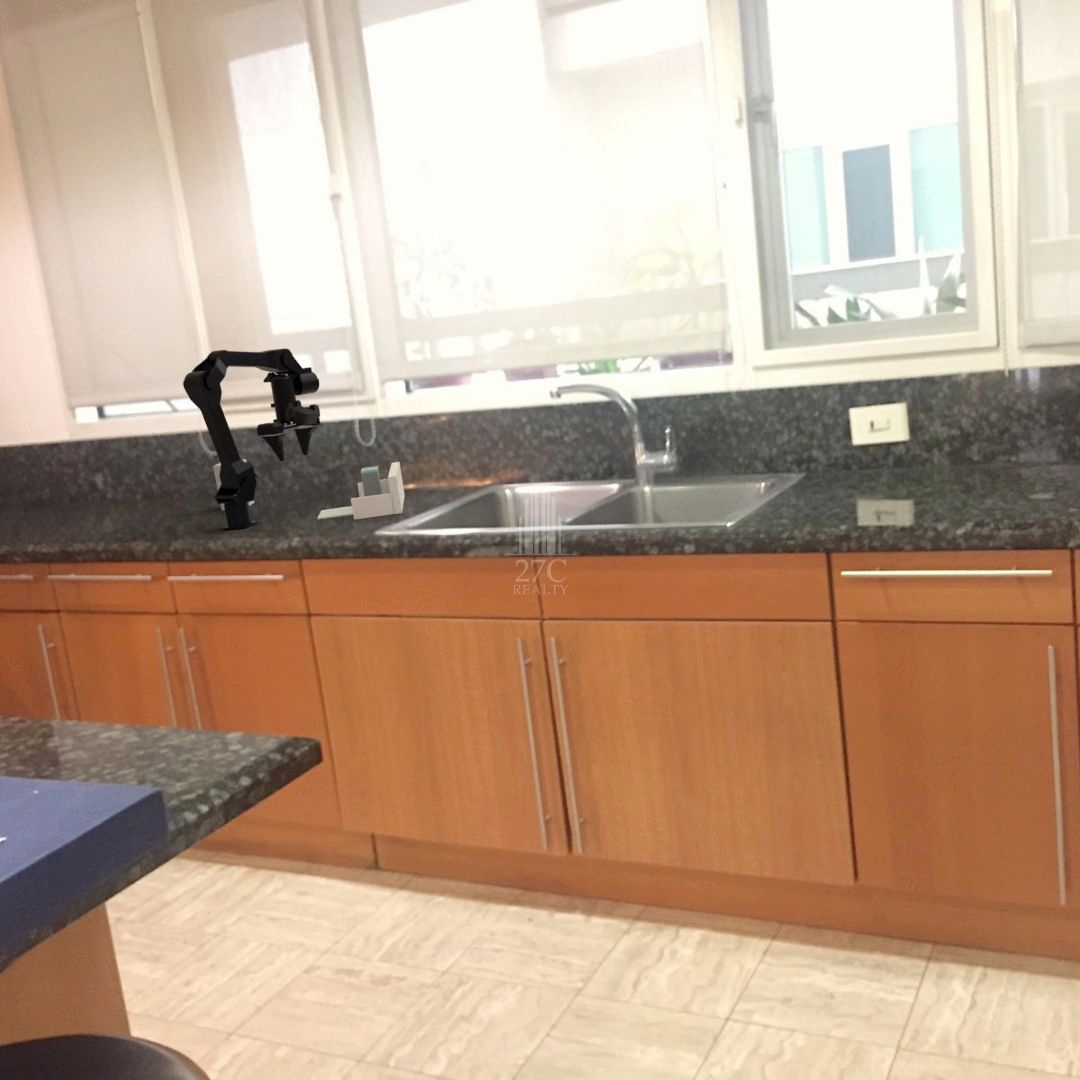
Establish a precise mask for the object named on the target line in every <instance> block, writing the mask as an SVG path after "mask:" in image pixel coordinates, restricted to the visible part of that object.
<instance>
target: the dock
mask: <svg viewBox="0 0 1080 1080" xmlns="http://www.w3.org/2000/svg"><path fill="white" fill-rule="evenodd" d="M380 483H381V489H382V494H380V495H373V496H366V497H365V496H364V490H363V484H362V481H361V482H358V483H357V489H358V497H352V498H350V503H351V506H352V510H353V520H362V519H368V518H377V517H383V516H389V515H397V514H403V508H404V503H405V490H404V482H403V476H402V470H401V463H400V461H395V462H391V464H390V468H389V472H388V476H387V478H384V479H380Z"/></svg>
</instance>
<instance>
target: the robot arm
mask: <svg viewBox="0 0 1080 1080" xmlns="http://www.w3.org/2000/svg"><path fill="white" fill-rule="evenodd" d="M229 367H231V368H256V369H259V370H261V371H263V372H264V371H265V372H267V375H266V376H265V378H264V379H263V381H262V382H263V383H270V387H271V394H272V398H273V399H272V400H273V403H270V408H271V409H272V408H274V412H275V417H276V418H274V419H273V420H272V421H273V422H265V423H262V424H261V423H260V424H258V425H257V426H256V434H257V436H259V437H260V436H261V439H263V440H264V441H265V442H266V443H267V445H268V446H269V447H270V448H271V449H272V451H273V452H274V454H275V455H276V457H277V459H278V460H279V461H280V462H283V461H284V462H285V451H284V442H283V441H284V438H285V435H286V433H284V431H285V430H288V429H293V428H294V429H293V430H294V433H295V436H296V439H297V441H298V444H299V448H300V451H301V452H302V455H304V456H307V455H308V453H309V449H310V442H311V438H312V434H313V433H314V431H315V430H316V429H318V425H321V420H320V419H321V418H320V417H321V410H320V407H319V405H318V404H315V403H314V404H310V405H309V406H302V402H301V400H299V399H297V397H298V396H303V395H309V394H314V393H317V391H319V388H320V379H319V378H318V376H317V374H316V373H315V372H314V371H313V369H312V367H311V366H310V367H302V366H301V365H300V363H299V361H298V360H297V359H296V358H295V357H294V355H293V353H292V351H291V350H290V349H289V348H276V349H275V348H274V349H268V350H262V351H243V350H242V351H241V350H240V351H238V350H237V351H236V350H232V351H231V350H226V349H220V350H218V349H217V350H213V351H211V352H210V353H208V355H207V356H206V358H205V359H203V360H202V361H201V362H200V363H199V364H197V365H196V366H195V367H194V368H193V369H192V370H191V372H189V373H187V374H186V375H185V377H184V380H183V382H182V386H183V389H184V391H185V393H186V394H187V397H188V398H189V400H190V401H191V403H193V404H194V405H195V406H196V407H197V408H198V409H199V410H200V412H201V416H202V417H203V418H202V419H203V420H204V422H205V425H206V429H207V431H208V434H209V436H210V439H211V441H212V444H213V446H214V449H215V451H216V454H217V457H218V460H219V463H221V468H220V474H219V476H220V480H221V486H220V488H219V489H217V491H216V493H215V496H214V499H215V501H216V503H217V504H218V505H221V504H224V508H225V510H224V513H225V518H226V523H227V525H226V526H223V527H222V530H223V531H224V530H233V529H234V530H236V529H239V530H240V529H246V528H248V527H250V526H253V525H255V524H258V520H253V519H252V513H251V508H250V506H249V502H250V501H253V500H254V501H255V495H256V494H255V493H256V487H257V485H258V483H257V478H258V475H257V474H256V472H255V470H254V465H253V463H252V462H251V461H247V462H244V461H243V460H242V458H241V455H240V453H239V451H238V447H237V445H236V443H235V440H234V437H233V434H232V432H231V429H230V425H229V423H228V421H227V419H226V416H225V413H224V411H223V408H222V404H221V401H222V393H223V390H222V387H221V383H222V381H223V380H224V378H225V377H226V374H227V370H228V369H229Z"/></svg>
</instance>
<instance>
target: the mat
mask: <svg viewBox="0 0 1080 1080" xmlns="http://www.w3.org/2000/svg"><path fill="white" fill-rule="evenodd" d="M352 515H353V510H352V505H350V506H344V507H334V508H329V509H322V510H320V512H319V513H318V516H317V518H316V519H317V520H325V519H331V518H337V517H338V518H339V517H346V516H352Z"/></svg>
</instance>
